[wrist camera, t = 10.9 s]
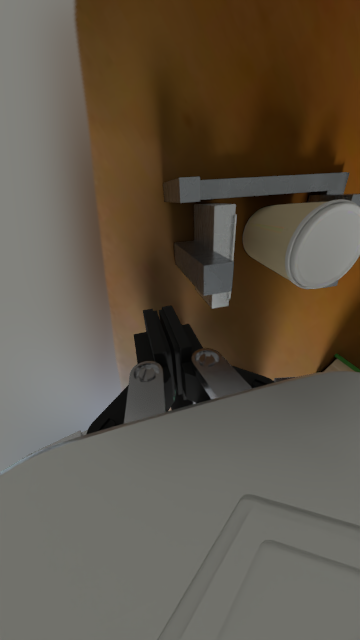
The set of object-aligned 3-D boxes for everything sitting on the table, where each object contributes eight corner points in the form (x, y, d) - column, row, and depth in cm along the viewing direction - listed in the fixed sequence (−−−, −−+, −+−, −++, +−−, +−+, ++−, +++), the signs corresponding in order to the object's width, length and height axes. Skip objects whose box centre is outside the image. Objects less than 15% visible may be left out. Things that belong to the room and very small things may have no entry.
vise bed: (310, 283, 39) (350, 300, 33) (173, 306, 34) (186, 332, 28) (341, 173, 31) (404, 166, 24) (162, 183, 25) (179, 177, 19)
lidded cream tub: (298, 238, 34) (374, 254, 24) (252, 275, 35) (305, 306, 25) (280, 183, 29) (366, 175, 19) (226, 229, 30) (280, 244, 20)
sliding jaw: (210, 287, 34) (249, 324, 24) (177, 292, 33) (203, 333, 23) (212, 202, 28) (266, 205, 18) (171, 206, 27) (203, 210, 17)
